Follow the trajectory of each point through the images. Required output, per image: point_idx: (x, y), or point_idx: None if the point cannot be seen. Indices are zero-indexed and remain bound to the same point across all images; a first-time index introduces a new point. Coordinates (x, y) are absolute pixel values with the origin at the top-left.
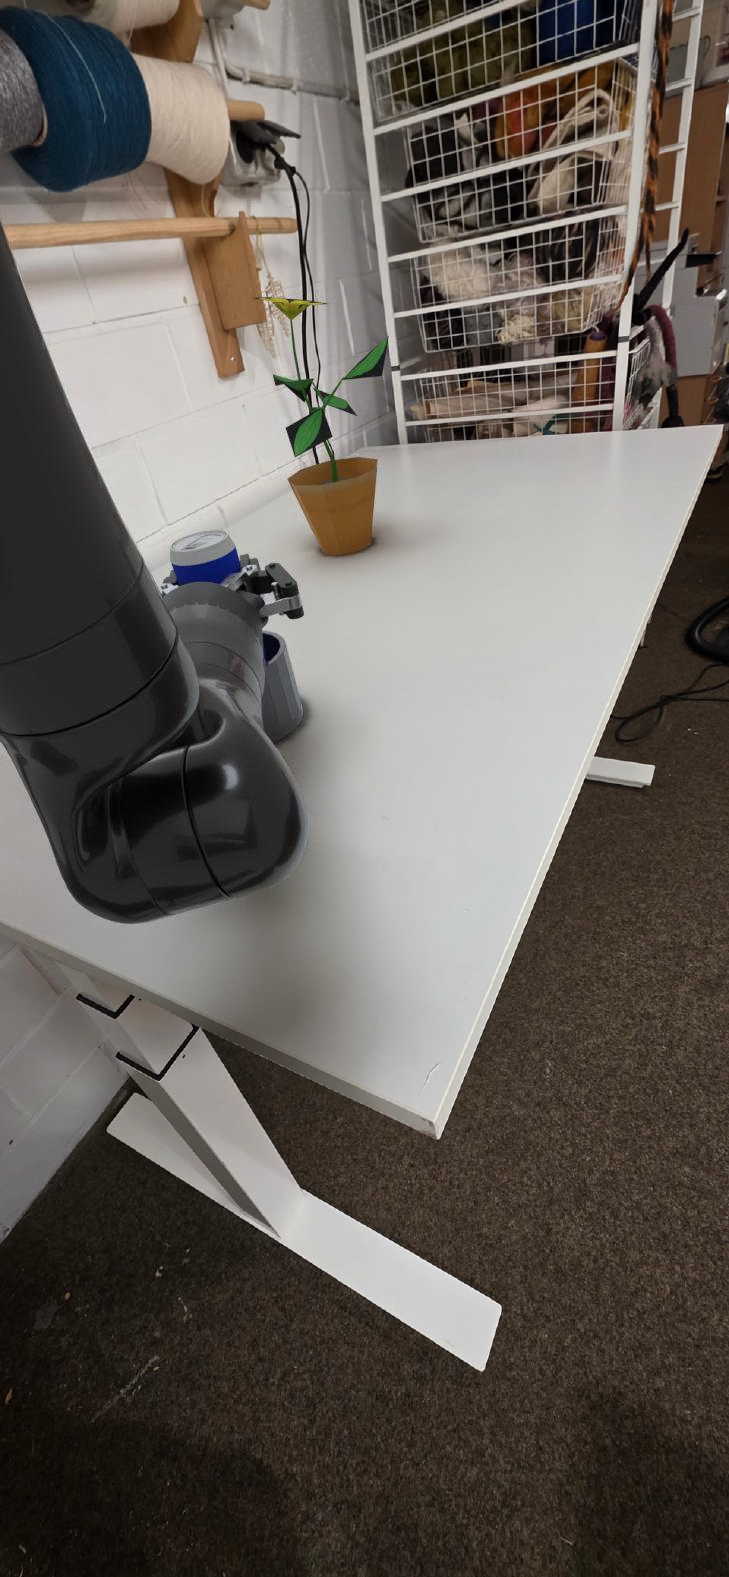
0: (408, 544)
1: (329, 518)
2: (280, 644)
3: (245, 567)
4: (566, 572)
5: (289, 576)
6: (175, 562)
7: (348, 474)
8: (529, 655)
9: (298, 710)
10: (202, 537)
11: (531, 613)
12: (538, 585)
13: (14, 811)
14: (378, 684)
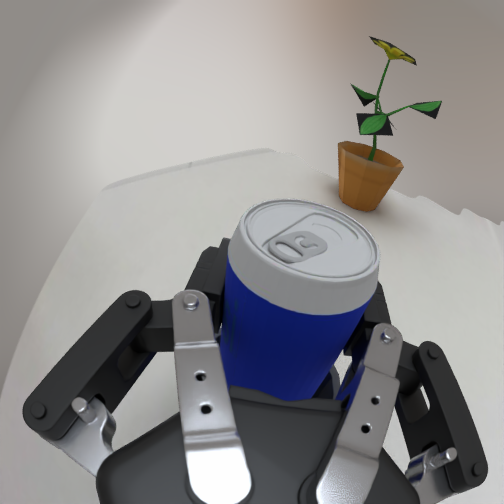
0: (400, 223)
1: (360, 183)
2: (334, 391)
3: (378, 327)
4: (499, 311)
5: (474, 429)
6: (238, 270)
7: (375, 158)
8: (493, 409)
9: None
10: (312, 215)
11: (491, 351)
12: (489, 317)
13: (2, 390)
14: None
